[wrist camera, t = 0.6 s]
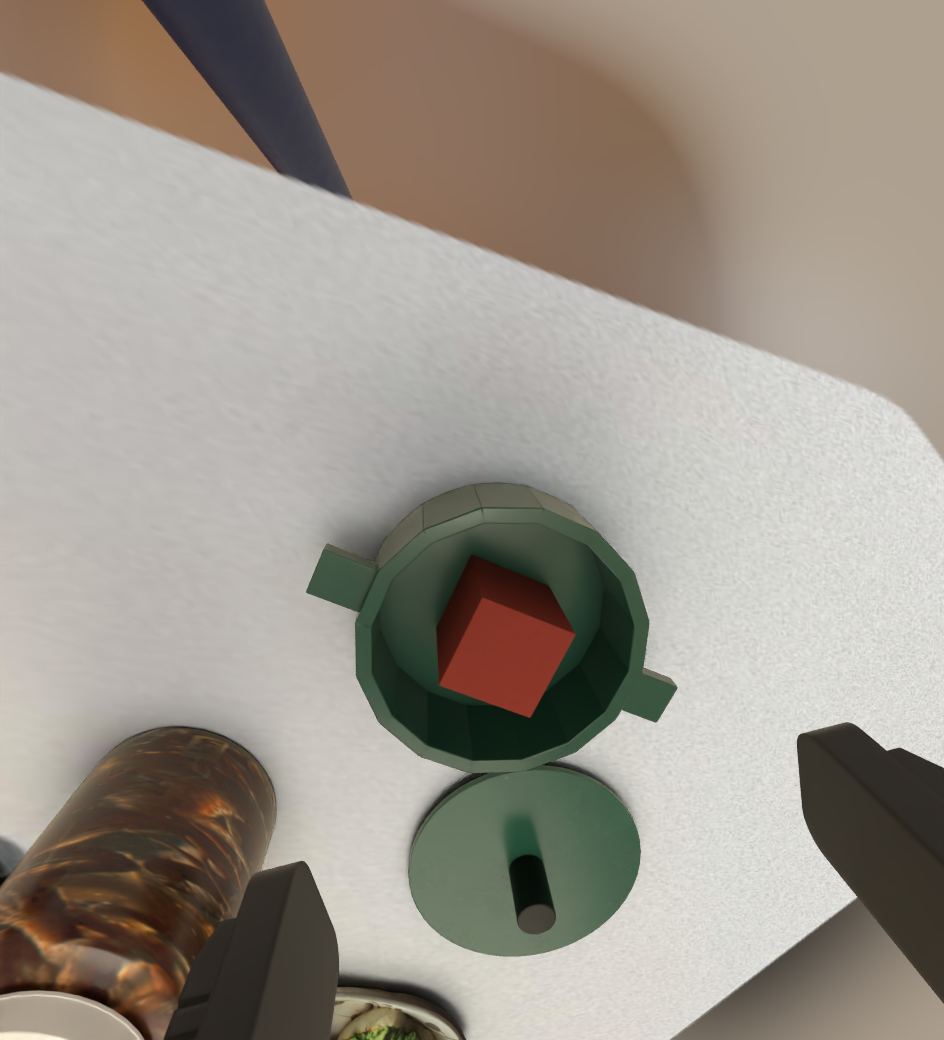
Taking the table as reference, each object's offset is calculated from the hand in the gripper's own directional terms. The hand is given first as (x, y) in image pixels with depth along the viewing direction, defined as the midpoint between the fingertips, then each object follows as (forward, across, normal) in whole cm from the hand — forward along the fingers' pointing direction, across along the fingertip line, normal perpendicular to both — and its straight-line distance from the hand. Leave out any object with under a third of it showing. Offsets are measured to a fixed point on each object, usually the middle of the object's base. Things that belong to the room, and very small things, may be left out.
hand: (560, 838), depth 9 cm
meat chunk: (+23, 0, +7) cm, 24 cm away
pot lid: (+23, +2, +25) cm, 34 cm away
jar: (+24, +22, +15) cm, 35 cm away
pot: (+24, 0, +7) cm, 24 cm away
